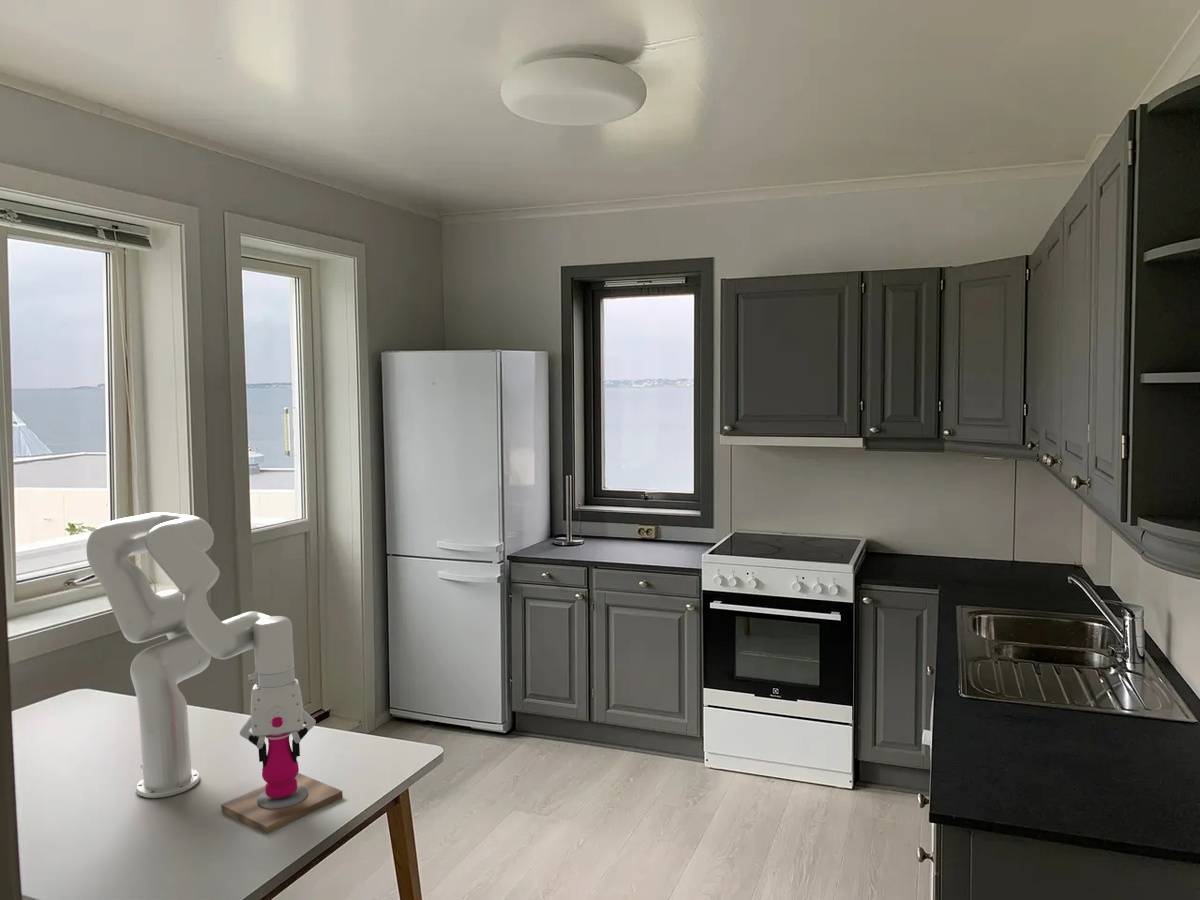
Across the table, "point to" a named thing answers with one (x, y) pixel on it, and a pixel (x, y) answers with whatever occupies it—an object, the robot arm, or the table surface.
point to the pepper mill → (279, 765)
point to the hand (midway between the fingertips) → (279, 761)
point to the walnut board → (281, 804)
